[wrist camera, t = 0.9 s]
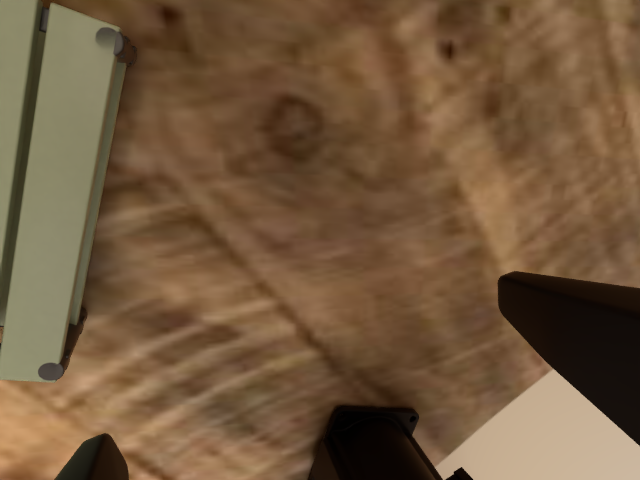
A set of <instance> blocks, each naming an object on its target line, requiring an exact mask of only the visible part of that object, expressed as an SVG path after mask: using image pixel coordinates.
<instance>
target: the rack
mask: <svg viewBox="0 0 640 480" xmlns="http://www.w3.org/2000/svg"><path fill="white" fill-rule="evenodd" d="M129 42H130V40H129V38H128V37H126V36H123V34H122V30H121V28H120V27H118V26H116V25H113V24H110V23H107V22H105V21H102V20H99V19H96V18H94V17H91V16H88V15H86V14H83V13H80V12H77V11H75V10H72V9H69V8H66V7H64V6H61V5H58V4H55V3H51V4H50V9H48V8H46V7H43V2H42V1H41V0H0V327H4V329H3V336H2V343H0V380H16V381H35V382H56V381H57V379H59V378H61V377H62V376H63V374H64V372H65V370H66V369H67V367H68V365H69V362H70V357H71V355H72V352H73V350H74V347H75V345H76V342H77V340H78V338H79V335H80V334H81V333H82V330H83V327H84V323H85V320H86V318H87V312H86V311H85V310H84V309H83V308H81V304H82V299H83V294H84V288H85V283H86V278H87V272H88V267H89V262H90V256H91V251H92V246H93V240H94V235H95V230H96V224H97V219H98V214H99V209H100V203H101V198H102V193H103V187H104V182H105V177H106V171H107V166H108V161H109V155H110V150H111V145H112V140H113V134H114V129H115V124H116V118H117V113H118V108H119V102H120V97H121V92H122V86H123V81H124V76H125V70H126V66H131V65H134V63H135V62H136V59H137V53H136V51H137V48H136V47H135V46H132V45H131V44H130V43H129Z"/></svg>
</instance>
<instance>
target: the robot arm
mask: <svg viewBox="0 0 640 480" xmlns="http://www.w3.org/2000/svg"><path fill="white" fill-rule="evenodd" d="M498 305H499V309H500V311H501V313H502V315H503V316H504V317H505V318H506V319H507V320H508V321H509V322H510V324H511V325H512V326H513V327H514V328H515V329H516V330H517V331H518V332H519V333H520V334H521V335H522V337H523V338H524V339H525V340H526V341H527V342H528V343H529V344H530V345H531V346H532V347H533V348H534V349H535V351H536V352H537V353H538V354H539V355H540V356H541V357H542V358H543V359H544V360H545V361H546V362H547V363H548V364H549V365H550V366H551V367H552V368H553V369H554V370H556V371H557V372H558V373H559V374H560V375H561V376H562V377H564V378H565V379H566V380H567V381H568V382H569V383H570V384H571V385H572V386H573V387H575V388H576V389H577V390H578V391H579V392H580V393H581V394H582V395H583V396H585V397H586V398H587V399H588V400H589V401H590V402H591V403H593V404H594V405H595V406H596V407H597V408H598V409H599V410H600V411H602V412H603V413H604V414H605V415H606V416H607V417H608V418H609V419H610V420H611V421H613V422H614V423H615V424H616V425H617V426H618V427H619V428H621V429H622V430H623V431H624V432H625V433H626V434H627V435H628V436H629V437H630V438H632V439H633V440H634V441H635V442H636V443H637V444H638V445H640V288H634V287H626V286H619V285H612V284H605V283H598V282H590V281H583V280H576V279H569V278H561V277H554V276H547V275H540V274H532V273H525V272H518V271H514V272H510V273H508V274H505V275H503V276H501V277H500V278H499V280H498ZM341 414H342V415H341ZM340 415H341V416H340ZM418 419H419V415H418V414H417V412H416V411H415V410H414V409H399V408H377V407H355V406H339V407H337V408H336V409H335V410H334V412H333V414H332V417H331V420H330V422H329V425H328V428H327V431H326V433H325V436H324V438H323V439H322V441H321V444H320V447H319V450H318V453H317V455H316V458H315V461H314V464H313V466H312V472H311V475H310V478H309V480H443V479H442V478H441V476H440V475H439V473H438V472H437V470H436V469H435V468H434V466H433V465H432V463H431V462H430V460H429V459H428V458H427V456H426V455H425V453H424V452H423V450H422V449H421V448H420V446H419V445H418V443H417V442H416V440H415V439H414V438H413V436H412V434H413V431H414V429H415V427H416V424H417V422H418ZM54 480H129V474H128V467H127V464H126V461H125V459H124V458H123V456H122V454H121V452H120V451H119V449H118V447H117V445H116V444H115V442H114V440H113V439H112V437H111V436H110V435H109V434H106V433H104V434H101V435H98V436H96V437H93V438H91V439H88V440H86V441H85V442H83V443H82V445H81V446H80V447H79V448H78V450H77V451H76V452H75V453H74V455H73V456H72V457H71V459H70V460H69V461H68V463H67V464H66V465H65V466H64V468H63V469H62V470H61V472H60V473H59V474H58V475H57V477H56V478H55V479H54ZM446 480H473V479H472V478H471V477H470V476H469V475H468V473H467V472H466V471H464V469H463V468H462V467H461V468H459V469H458V470H456V471H454V475H452V476H450V477H449V478H447V479H446Z"/></svg>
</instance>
